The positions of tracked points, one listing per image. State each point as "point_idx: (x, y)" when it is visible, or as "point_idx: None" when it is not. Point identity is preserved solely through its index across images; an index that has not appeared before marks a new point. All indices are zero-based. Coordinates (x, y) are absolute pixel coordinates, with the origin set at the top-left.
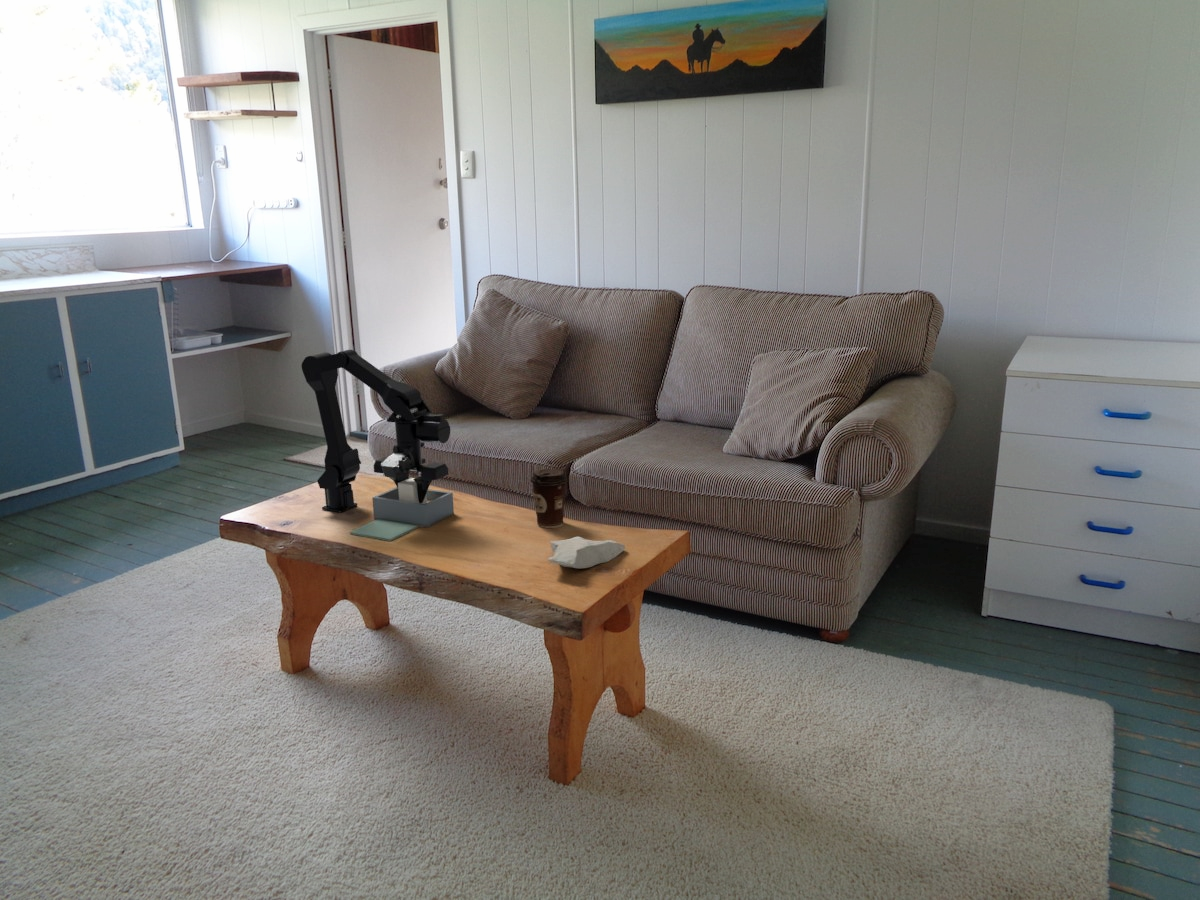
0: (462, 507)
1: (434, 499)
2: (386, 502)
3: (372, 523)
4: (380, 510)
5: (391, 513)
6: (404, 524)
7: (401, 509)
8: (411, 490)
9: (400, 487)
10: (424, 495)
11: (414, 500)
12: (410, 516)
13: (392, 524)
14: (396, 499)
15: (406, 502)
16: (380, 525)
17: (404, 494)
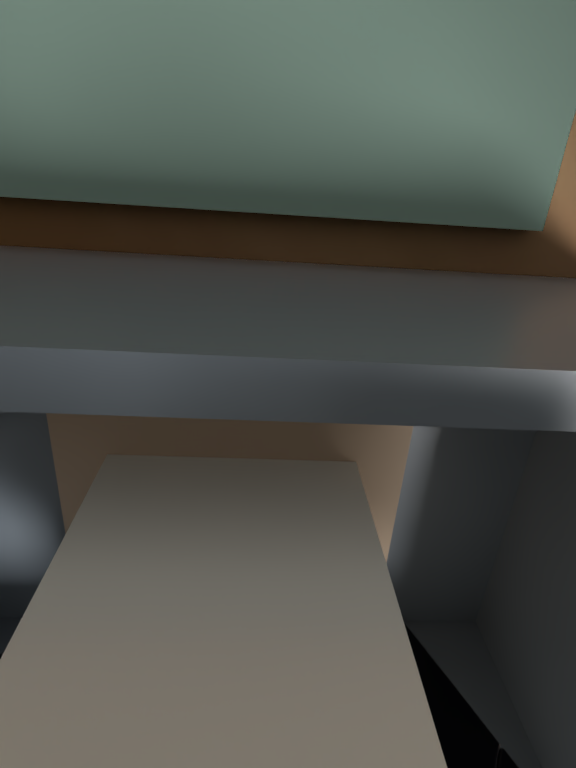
0: None
1: None
2: (519, 347)
3: (541, 48)
4: (571, 306)
5: (378, 290)
6: (106, 171)
7: (186, 304)
8: (20, 724)
9: (368, 764)
10: None
11: (65, 546)
12: (42, 271)
13: (251, 108)
14: (532, 635)
15: (11, 356)
16: (388, 2)
17: (257, 612)
